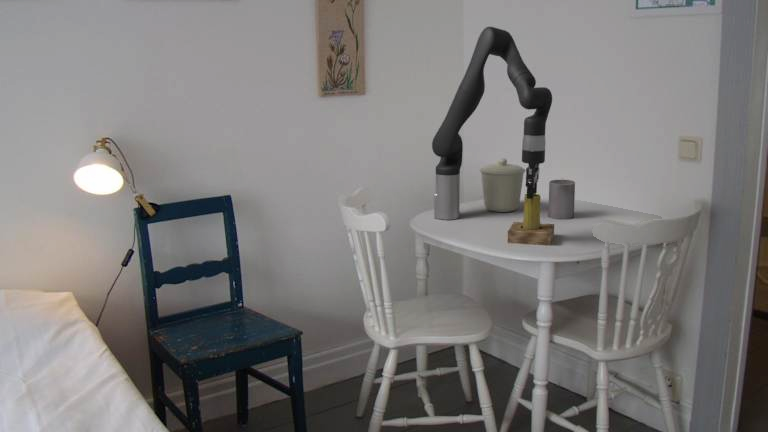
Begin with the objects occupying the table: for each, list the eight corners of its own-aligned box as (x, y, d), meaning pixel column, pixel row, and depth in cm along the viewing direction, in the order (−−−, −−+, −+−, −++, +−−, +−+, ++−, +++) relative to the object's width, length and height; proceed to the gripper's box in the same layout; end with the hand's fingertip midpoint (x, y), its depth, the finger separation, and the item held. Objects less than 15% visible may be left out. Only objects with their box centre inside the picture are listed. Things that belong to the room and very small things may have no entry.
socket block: (507, 242, 247) (507, 231, 247) (513, 232, 260) (513, 221, 260) (550, 245, 243) (550, 233, 242) (553, 235, 256) (554, 224, 255)
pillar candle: (555, 212, 291) (556, 175, 287) (578, 215, 285) (579, 177, 281) (543, 217, 284) (544, 179, 280) (567, 220, 277) (568, 181, 274)
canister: (533, 209, 297) (534, 157, 293) (505, 216, 285) (506, 163, 281) (497, 203, 310) (498, 153, 306) (469, 210, 298) (470, 158, 294)
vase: (540, 238, 248) (541, 196, 245) (521, 237, 249) (523, 196, 246) (540, 234, 254) (541, 193, 251) (522, 233, 255) (523, 193, 252)
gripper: (525, 145, 252) (523, 191, 256) (519, 150, 239) (517, 199, 243) (547, 146, 250) (545, 192, 254) (542, 151, 237) (540, 201, 241)
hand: (531, 196), depth 248 cm, fingers open, 8 cm apart
